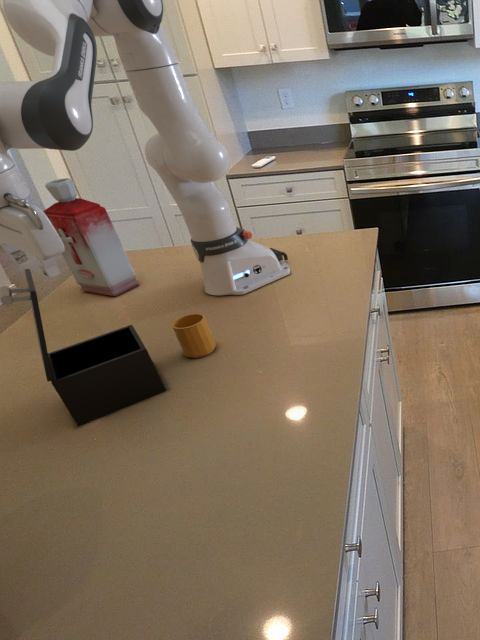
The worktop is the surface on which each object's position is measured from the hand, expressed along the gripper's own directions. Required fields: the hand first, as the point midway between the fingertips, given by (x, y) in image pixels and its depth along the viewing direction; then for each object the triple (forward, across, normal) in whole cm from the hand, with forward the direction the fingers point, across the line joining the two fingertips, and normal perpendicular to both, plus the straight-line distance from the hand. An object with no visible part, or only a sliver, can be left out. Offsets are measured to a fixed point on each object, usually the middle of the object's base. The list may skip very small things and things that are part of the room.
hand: (36, 268), depth 95 cm
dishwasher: (+28, -2, -1) cm, 28 cm away
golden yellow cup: (+29, -4, -19) cm, 35 cm away
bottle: (+37, +52, -31) cm, 70 cm away
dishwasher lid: (+10, +2, +3) cm, 11 cm away
